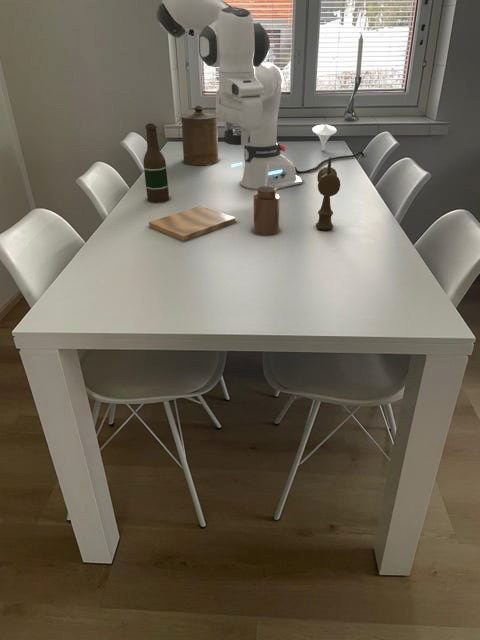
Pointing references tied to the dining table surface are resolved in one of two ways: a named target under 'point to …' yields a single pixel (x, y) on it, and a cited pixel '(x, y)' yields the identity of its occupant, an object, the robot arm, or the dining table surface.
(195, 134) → the wooden container
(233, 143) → the lid
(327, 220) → the kendama
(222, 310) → the dining table surface
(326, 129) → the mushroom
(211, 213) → the board
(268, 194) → the jar
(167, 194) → the beer bottle
